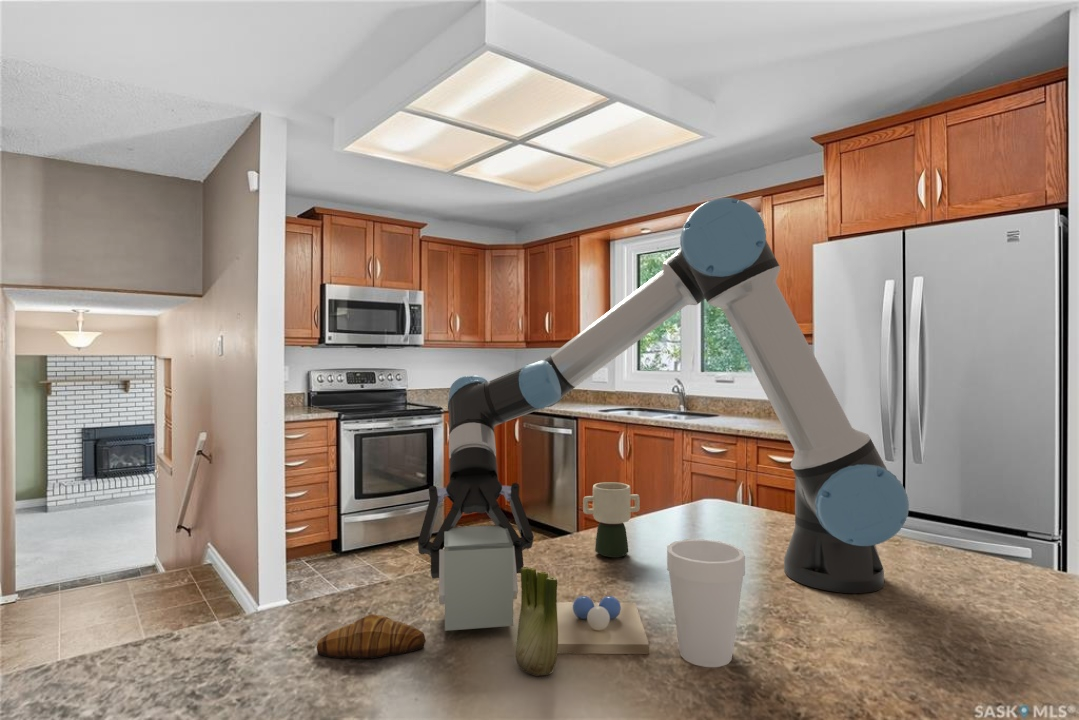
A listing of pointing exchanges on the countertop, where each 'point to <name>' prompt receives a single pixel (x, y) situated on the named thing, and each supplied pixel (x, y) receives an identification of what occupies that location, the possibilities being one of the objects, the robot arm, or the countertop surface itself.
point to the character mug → (611, 516)
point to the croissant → (371, 639)
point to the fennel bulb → (537, 623)
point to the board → (601, 632)
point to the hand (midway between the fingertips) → (478, 597)
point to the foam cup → (706, 598)
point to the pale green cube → (478, 577)
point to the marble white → (598, 618)
